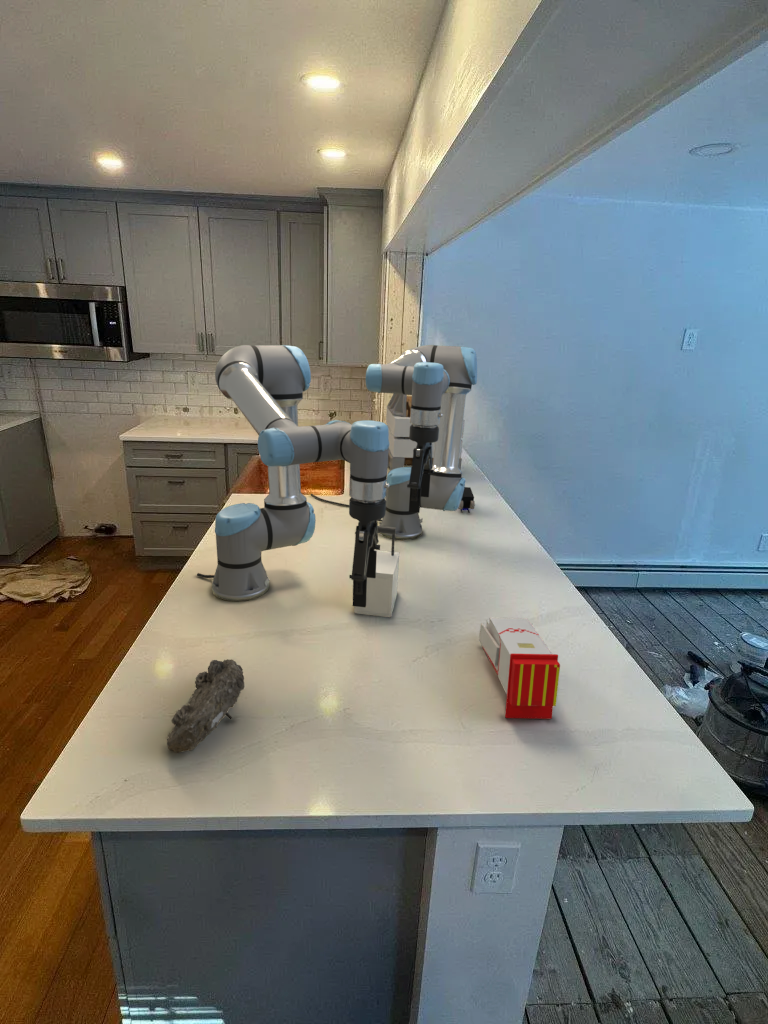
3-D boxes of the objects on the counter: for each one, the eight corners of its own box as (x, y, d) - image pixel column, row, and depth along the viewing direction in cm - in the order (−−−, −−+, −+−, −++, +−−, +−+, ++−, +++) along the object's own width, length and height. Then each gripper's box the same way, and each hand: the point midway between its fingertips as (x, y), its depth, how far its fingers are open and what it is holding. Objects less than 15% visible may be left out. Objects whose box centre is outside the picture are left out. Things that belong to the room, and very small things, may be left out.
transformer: (382, 463, 289) (386, 382, 275) (445, 464, 293) (451, 384, 279) (390, 482, 257) (394, 392, 243) (460, 483, 261) (468, 394, 247)
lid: (365, 553, 156) (366, 521, 153) (399, 556, 155) (401, 524, 152) (355, 575, 143) (356, 541, 140) (392, 579, 142) (394, 544, 139)
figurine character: (474, 518, 222) (469, 501, 235) (476, 500, 218) (471, 485, 232) (457, 517, 222) (452, 501, 235) (459, 500, 218) (454, 484, 232)
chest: (363, 589, 159) (364, 554, 156) (397, 593, 158) (399, 557, 154) (354, 613, 147) (355, 575, 143) (390, 617, 146) (392, 579, 142)
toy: (525, 603, 136) (569, 660, 107) (520, 654, 139) (562, 725, 109) (475, 601, 135) (505, 659, 106) (471, 653, 138) (499, 724, 109)
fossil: (192, 660, 117) (244, 628, 112) (224, 691, 120) (276, 661, 115) (142, 746, 98) (202, 712, 93) (182, 779, 101) (242, 748, 96)
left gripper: (377, 520, 104) (373, 621, 111) (393, 482, 127) (389, 568, 134) (336, 516, 105) (335, 617, 112) (360, 479, 128) (357, 565, 135)
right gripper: (430, 435, 132) (424, 520, 140) (446, 418, 155) (440, 492, 162) (399, 433, 134) (394, 517, 141) (419, 416, 157) (414, 489, 164)
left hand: (364, 590), depth 123 cm, fingers open, 13 cm apart
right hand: (419, 504), depth 152 cm, fingers open, 13 cm apart
